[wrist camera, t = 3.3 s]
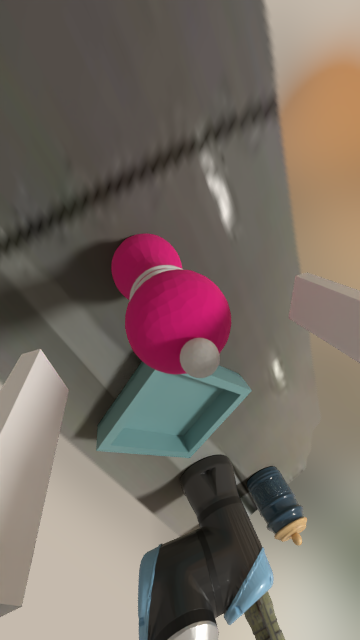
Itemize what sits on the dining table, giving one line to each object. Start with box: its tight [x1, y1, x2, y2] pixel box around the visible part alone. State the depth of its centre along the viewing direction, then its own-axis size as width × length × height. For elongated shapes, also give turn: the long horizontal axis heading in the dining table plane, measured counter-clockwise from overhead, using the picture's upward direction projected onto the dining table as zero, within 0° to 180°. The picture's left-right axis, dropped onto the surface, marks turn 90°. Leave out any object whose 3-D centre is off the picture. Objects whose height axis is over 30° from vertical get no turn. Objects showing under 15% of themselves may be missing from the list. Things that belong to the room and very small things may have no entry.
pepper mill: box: [111, 234, 231, 378], centre depth 17 cm, size 7×7×20 cm
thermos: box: [244, 591, 285, 640], centre depth 64 cm, size 9×12×35 cm
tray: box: [96, 361, 252, 458], centre depth 37 cm, size 20×20×4 cm
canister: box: [247, 467, 307, 545], centre depth 65 cm, size 13×13×18 cm
